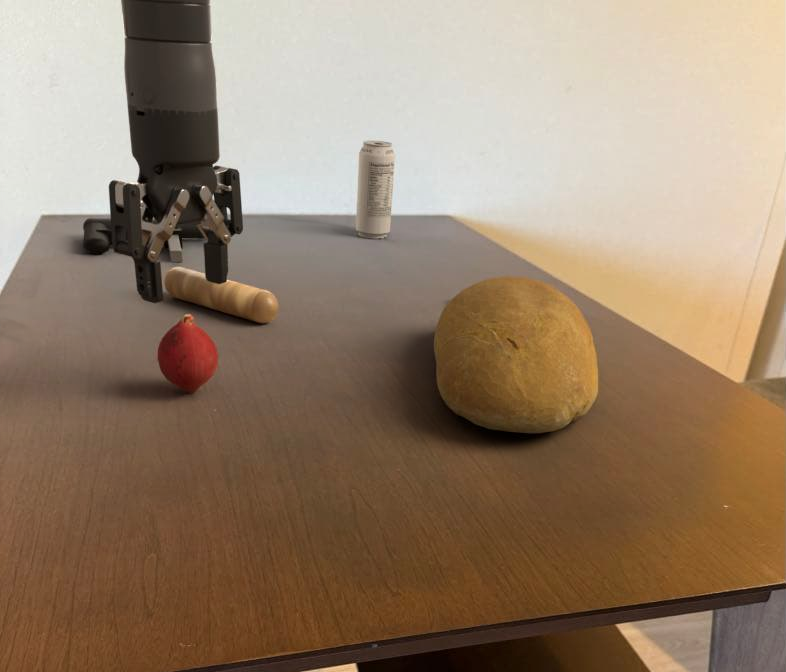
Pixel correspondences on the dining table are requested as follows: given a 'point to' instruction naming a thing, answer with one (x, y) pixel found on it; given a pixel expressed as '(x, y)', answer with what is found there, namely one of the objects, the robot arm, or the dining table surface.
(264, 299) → the tan rounded rod
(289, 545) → the dining table surface
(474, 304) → the bread
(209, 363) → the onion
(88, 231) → the door handle
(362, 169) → the energy drink can
